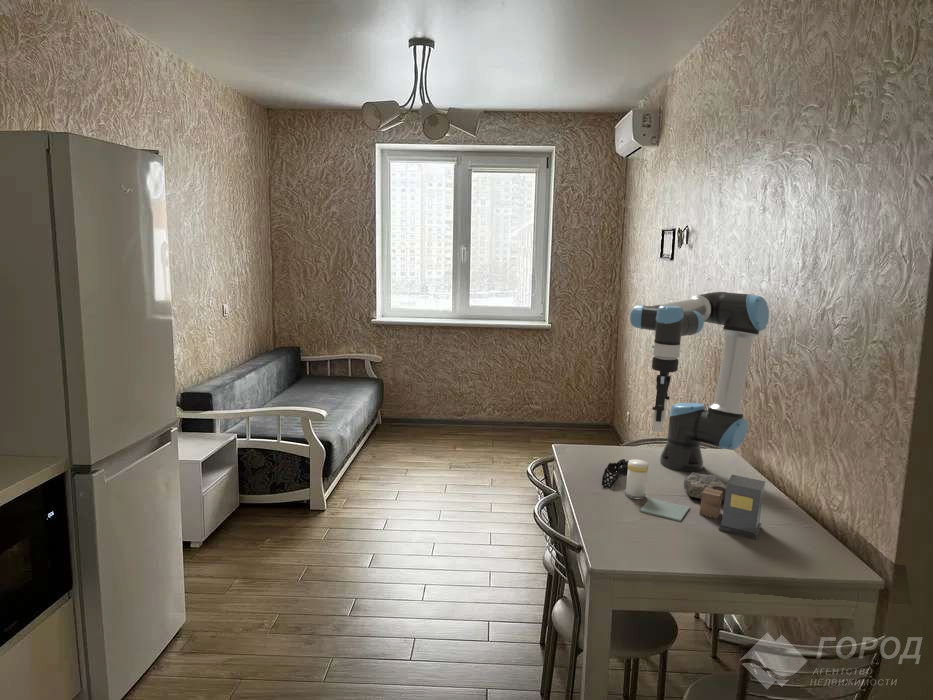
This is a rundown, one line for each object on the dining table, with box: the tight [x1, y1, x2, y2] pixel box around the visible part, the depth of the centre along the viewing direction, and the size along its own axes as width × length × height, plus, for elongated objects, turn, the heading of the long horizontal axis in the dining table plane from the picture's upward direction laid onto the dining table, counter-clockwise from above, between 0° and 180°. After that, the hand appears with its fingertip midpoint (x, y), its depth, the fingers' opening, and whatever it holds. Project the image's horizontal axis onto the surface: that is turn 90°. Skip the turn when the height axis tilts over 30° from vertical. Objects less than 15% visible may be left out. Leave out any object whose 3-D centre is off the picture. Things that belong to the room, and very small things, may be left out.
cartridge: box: [624, 459, 649, 499], centre depth 214 cm, size 6×6×11 cm
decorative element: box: [601, 458, 629, 489], centre depth 229 cm, size 22×5×6 cm, turn 152°
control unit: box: [718, 474, 766, 540], centre depth 192 cm, size 10×10×14 cm
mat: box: [639, 497, 690, 522], centre depth 204 cm, size 12×12×1 cm
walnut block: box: [699, 488, 723, 519], centre depth 203 cm, size 5×5×7 cm
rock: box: [682, 471, 727, 503], centre depth 217 cm, size 13×6×15 cm
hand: (658, 425), depth 205 cm, fingers open, 13 cm apart
